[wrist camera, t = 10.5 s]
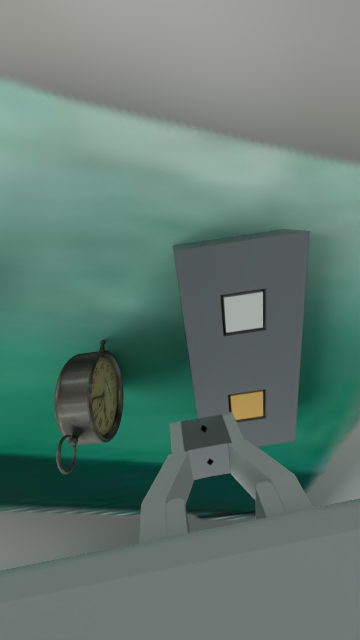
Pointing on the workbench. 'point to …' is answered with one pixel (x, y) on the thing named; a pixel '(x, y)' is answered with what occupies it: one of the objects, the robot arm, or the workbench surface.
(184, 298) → the control box
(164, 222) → the workbench surface
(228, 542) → the robot arm
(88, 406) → the alarm clock
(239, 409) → the orange key
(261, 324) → the white key
